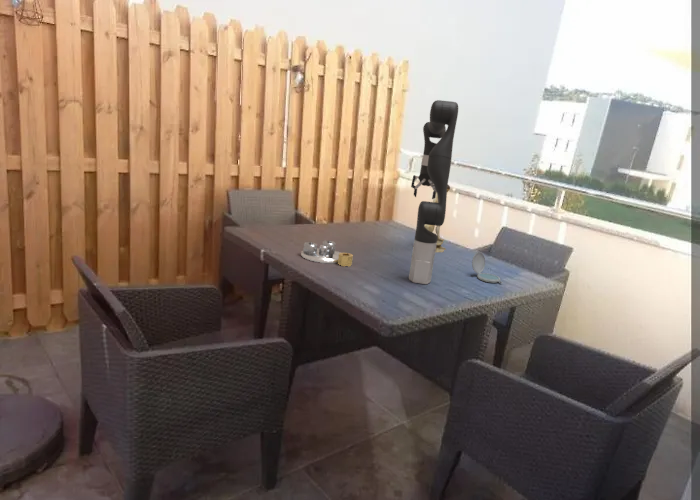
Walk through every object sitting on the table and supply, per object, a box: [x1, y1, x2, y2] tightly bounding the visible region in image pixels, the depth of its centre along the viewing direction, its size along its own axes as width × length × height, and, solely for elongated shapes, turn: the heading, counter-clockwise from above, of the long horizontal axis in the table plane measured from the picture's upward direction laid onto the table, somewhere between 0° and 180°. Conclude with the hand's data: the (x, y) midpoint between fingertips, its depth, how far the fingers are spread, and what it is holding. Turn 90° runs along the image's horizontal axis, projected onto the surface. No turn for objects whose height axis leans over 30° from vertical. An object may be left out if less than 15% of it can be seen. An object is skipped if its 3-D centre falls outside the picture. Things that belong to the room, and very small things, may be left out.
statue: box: [412, 184, 451, 253], centre depth 252 cm, size 17×17×35 cm
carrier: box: [300, 240, 341, 264], centre depth 215 cm, size 20×20×6 cm
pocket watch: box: [471, 251, 504, 284], centre depth 209 cm, size 10×11×15 cm
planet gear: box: [337, 252, 354, 267], centre depth 208 cm, size 6×6×4 cm
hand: (424, 198), depth 233 cm, fingers open, 8 cm apart
